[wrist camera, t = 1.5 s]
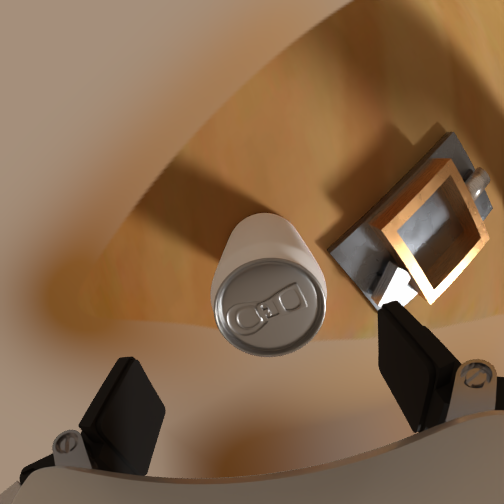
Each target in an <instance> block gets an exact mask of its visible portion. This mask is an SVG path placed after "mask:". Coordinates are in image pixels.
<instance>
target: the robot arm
mask: <svg viewBox="0 0 504 504" xmlns="http://www.w3.org/2000/svg"><path fill="white" fill-rule="evenodd" d="M378 343H379V344H378V345H379V357H378V360H379V361H378V365H379V370H380V372H381V374H382V376H383V378H384V379H385V381H386V383H387V385H388V387H389V388H390V390H391V392H392V394H393V395H394V397H395V399H396V401H397V403H398V404H399V406H400V408H401V410H402V412H403V414H404V415H405V417H406V419H407V421H408V423H409V425H410V427H411V429H412V430H413V432H415V433H416V432H419V433H417V434H414V435H413V436H410V437H407V438H405V439H402V440H399V441H397V442H394V443H391V444H389V445H386V446H383V447H380V448H377V449H374V450H371V451H368V452H364V453H361V454H358V455H355V456H351V457H348V458H344V459H340V460H337V461H333V462H329V463H324V464H320V465H316V466H311V467H306V468H301V469H296V470H290V471H284V472H277V473H270V474H262V475H253V476H242V477H230V478H229V477H228V478H165V477H164V478H163V477H150V476H145V475H146V474H147V472H148V468H149V465H150V462H151V458H152V455H153V452H154V448H155V445H156V442H157V438H158V435H159V432H160V428H161V425H162V422H163V419H164V416H165V407H164V404H163V403H162V401H161V400H160V398H159V396H158V395H157V393H156V391H155V389H154V388H153V386H152V385H151V382H150V381H149V379H148V377H147V375H146V373H145V372H144V370H143V368H142V366H141V364H140V362H139V361H138V360H135V358H133V357H122V358H119V359H118V360H117V362H116V363H115V365H114V367H113V368H112V370H111V371H110V373H109V375H108V376H107V378H106V380H105V381H104V383H103V384H102V386H101V388H100V389H99V391H98V393H97V394H96V396H95V398H94V399H93V401H92V403H91V404H90V406H89V408H88V410H87V411H86V413H85V415H84V416H83V418H82V420H81V422H80V423H79V427H80V428H81V430H82V432H81V434H80V433H79V432H78V431H76V430H67V431H64V432H62V433H61V434H60V435H58V436H57V437H56V439H55V440H54V443H53V447H52V450H53V454H51V455H49V456H47V457H45V458H43V459H40V460H38V461H36V462H35V463H32V464H30V465H28V466H26V467H24V468H23V470H22V472H21V474H20V483H19V482H18V481H16V482H15V483H14V484H13V485H12V486H10V487H9V488H8V489H7V490H5V491H4V492H3V493H2V494H0V504H504V377H497V373H496V370H495V368H494V366H493V365H491V364H490V363H489V362H487V361H485V360H480V359H473V360H469V361H466V362H465V363H463V364H461V363H460V362H459V361H458V360H457V359H456V358H455V357H454V355H453V354H452V353H451V352H450V351H449V350H448V349H447V348H446V347H445V346H444V345H443V344H442V343H441V342H440V340H439V339H438V338H436V336H435V335H434V334H433V333H432V332H431V331H430V330H429V329H428V328H427V327H425V326H422V325H421V324H420V323H419V322H418V321H417V320H416V319H415V318H414V317H413V316H412V315H411V314H410V313H409V312H408V311H407V310H406V309H405V308H404V307H403V306H402V305H401V304H400V303H399V302H398V301H397V300H394V301H391V302H388V303H385V304H383V305H382V307H381V309H379V310H378Z"/></svg>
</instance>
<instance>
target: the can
mask: <svg viewBox="0 0 504 504" xmlns="http://www.w3.org/2000/svg"><path fill="white" fill-rule="evenodd" d="M326 298H327V289H326V283H325V279H324V276H323V273H322V271H321V269H320V267H319V265H318V263H317V262H316V260H315V258H314V257H313V255H312V253H311V252H310V250H309V249H308V247H307V245H306V244H305V242H304V241H303V239H302V238H301V236H300V235H299V233H298V232H297V230H296V229H295V228H294V226H293V225H292V224H291V223H290V222H289V221H287V220H286V219H284V218H283V217H281V216H279V215H276V214H272V213H258V214H254V215H251V216H249V217H247V218H245V219H243V220H242V221H241V222H240V223H239V224H238V225H237V226H236V227H235V228H234V230H233V231H232V233H231V235H230V237H229V239H228V242H227V244H226V247H225V249H224V251H223V254H222V256H221V259H220V261H219V264H218V267H217V269H216V272H215V275H214V278H213V281H212V286H211V304H212V309H213V312H214V317H215V321H216V324H217V326H218V329H219V330H220V332H221V333H222V335H223V336H224V338H225V339H226V340H227V341H228V342H229V343H230V344H232V345H233V346H234V347H236V348H237V349H239V350H241V351H243V352H245V353H248V354H251V355H255V356H261V357H276V356H282V355H286V354H289V353H292V352H294V351H296V350H298V349H300V348H302V347H303V346H305V345H306V344H307V343H308V342H309V341H311V340H312V339H313V337H314V336H315V335H316V334H317V332H318V331H319V329H320V327H321V325H322V323H323V320H324V317H325V312H326Z"/></svg>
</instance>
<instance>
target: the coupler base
mask: <svg viewBox="0 0 504 504" xmlns="http://www.w3.org/2000/svg"><path fill="white" fill-rule="evenodd" d="M489 182H490V177H489V175H488V174H487V172H486V171H485V170H484V169H482V168H480V167H477V168H476V169H474V167H473V165H472V163H471V161H470V159H469V157H468V155H467V154H466V152H465V150H464V148H463V146H462V145H461V143H460V141H459V140H458V138H457V136H456V135H455V133H454V132H447V133H446V134H445V135H444V136H443V137H442V138H441V139H440V140H439V141H438V142H437V143H436V145H435V146H434V147H433V148H432V149H431V150H430V151H429V152H428V153H427V154H426V155H425V156H424V157H423V158H422V159H421V160H420V161H419V162H418V163H417V164H416V165H415V166H414V167H413V168H412V169H411V170H410V171H409V172H408V173H407V174H406V175H405V176H404V177H403V178H402V179H401V180H400V181H399V182H398V183H397V184H396V185H395V186H394V187H393V188H392V189H391V190H390V191H389V192H388V193H387V194H386V195H385V196H384V197H383V198H382V199H381V200H380V201H379V202H378V203H377V204H376V205H374V206H373V207H372V208H371V209H370V210H369V211H368V212H367V213H366V214H365V215H364V216H363V217H362V218H361V219H360V220H359V221H358V222H356V223H355V224H354V225H353V226H352V227H351V228H350V229H349V230H348V231H347V232H346V233H345V234H344V235H342V236H341V237H340V238H339V239H338V240H337V241H336V242H335V243H334V244H333V245H331V246H330V247H329V248H328V249H327V250H328V252H329V253H330V254H331V255H332V256H333V257H334V259H335V260H336V261H337V262H338V263H339V264H340V266H341V267H342V268H343V269H344V270H345V272H346V273H347V274H348V275H349V276H350V277H351V279H352V280H353V281H354V282H355V283H356V285H357V286H358V287H359V288H360V289H361V291H362V292H363V293H364V294H365V296H366V297H367V298H368V299H369V300H370V302H371V303H372V304H373V305H374V307H375V308H376V309H377V310H379V309H381V307H382V305H383V304H385V303H388V302H391V301H394V300H397V301H398V302H399V303H400V304H401V305H402V306H403V307H404V306H405V305H406V304H407V303H408V302H409V301H410V300H411V299H412V298H413V297H414V296H415V295H416V294H417V293H418V294H419V295H420V296H421V297H422V298H423V299H425V300H426V301H427V302H428V303H429V304H431V303H432V302H433V301H434V300H435V299H436V298H437V297H438V296H439V295H440V294H441V293H442V292H443V291H444V290H445V289H446V288H447V287H448V286H449V285H450V284H451V283H452V282H453V281H454V280H455V279H456V277H457V276H458V275H459V274H460V273H461V272H462V271H463V270H464V269H465V267H466V266H467V265H468V264H469V263H470V262H471V260H472V259H473V258H474V257H475V256H476V254H477V253H478V252H479V251H480V250H481V248H482V247H483V246H484V245H485V243H486V242H487V241H488V240H489V235H488V233H487V230H486V228H485V226H484V223H483V221H484V219H485V218H486V217H487V215H488V214H489V213H490V211H491V210H492V209H493V208H492V205H491V203H490V201H489V198H488V196H487V194H486V191H485V188H486V186H487V185H488V184H489Z"/></svg>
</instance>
